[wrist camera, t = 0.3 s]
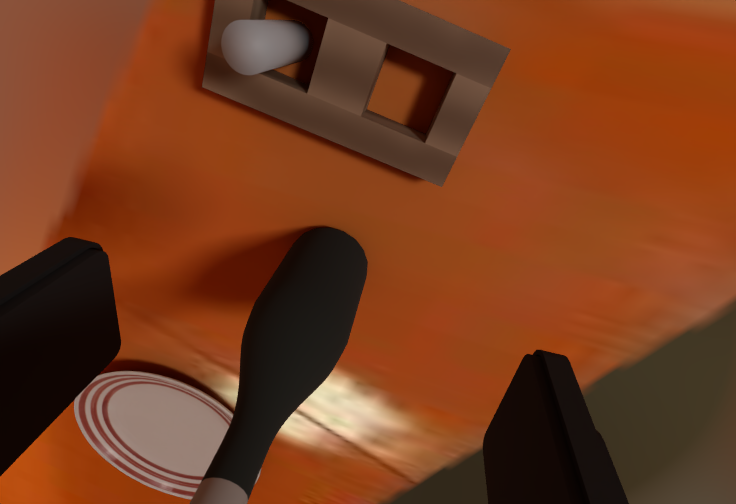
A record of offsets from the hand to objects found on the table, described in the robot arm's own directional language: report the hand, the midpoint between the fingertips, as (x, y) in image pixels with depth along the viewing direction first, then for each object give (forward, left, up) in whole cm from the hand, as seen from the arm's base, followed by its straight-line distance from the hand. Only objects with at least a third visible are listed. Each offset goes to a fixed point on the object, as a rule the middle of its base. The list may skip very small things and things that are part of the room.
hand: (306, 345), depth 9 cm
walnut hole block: (-1, -5, -30) cm, 30 cm away
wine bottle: (+17, -1, -30) cm, 34 cm away
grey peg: (-1, -10, -30) cm, 31 cm away
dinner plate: (+54, -13, -30) cm, 63 cm away
